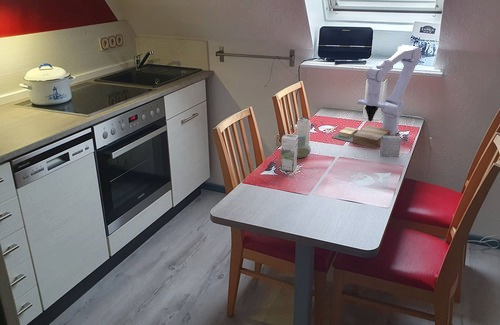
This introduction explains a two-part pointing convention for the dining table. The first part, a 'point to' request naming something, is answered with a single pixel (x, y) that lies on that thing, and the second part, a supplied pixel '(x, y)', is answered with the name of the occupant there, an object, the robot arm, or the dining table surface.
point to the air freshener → (302, 146)
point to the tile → (347, 132)
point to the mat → (343, 137)
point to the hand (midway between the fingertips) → (370, 120)
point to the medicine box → (390, 146)
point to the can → (304, 127)
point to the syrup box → (289, 152)
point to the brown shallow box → (370, 136)
